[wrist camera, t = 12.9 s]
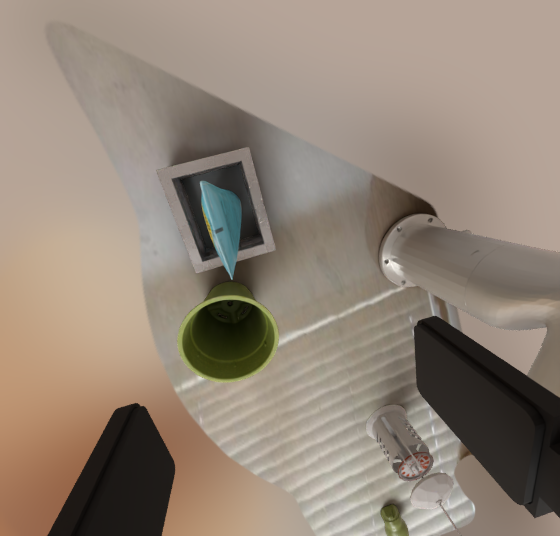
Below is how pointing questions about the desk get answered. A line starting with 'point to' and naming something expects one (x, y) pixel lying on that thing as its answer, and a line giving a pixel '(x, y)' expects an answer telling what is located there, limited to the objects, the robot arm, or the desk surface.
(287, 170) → the desk surface
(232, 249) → the tube
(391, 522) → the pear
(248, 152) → the square metal frame
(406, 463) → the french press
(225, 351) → the plant pot
